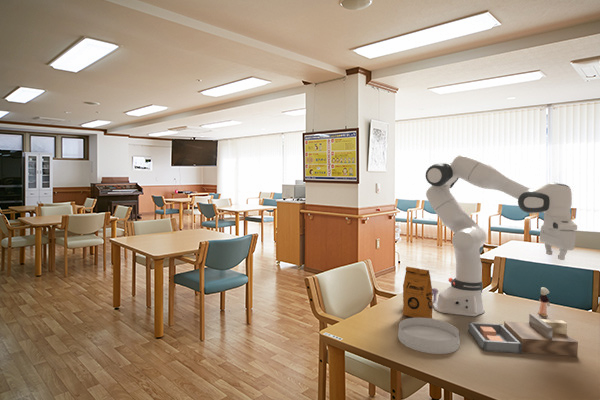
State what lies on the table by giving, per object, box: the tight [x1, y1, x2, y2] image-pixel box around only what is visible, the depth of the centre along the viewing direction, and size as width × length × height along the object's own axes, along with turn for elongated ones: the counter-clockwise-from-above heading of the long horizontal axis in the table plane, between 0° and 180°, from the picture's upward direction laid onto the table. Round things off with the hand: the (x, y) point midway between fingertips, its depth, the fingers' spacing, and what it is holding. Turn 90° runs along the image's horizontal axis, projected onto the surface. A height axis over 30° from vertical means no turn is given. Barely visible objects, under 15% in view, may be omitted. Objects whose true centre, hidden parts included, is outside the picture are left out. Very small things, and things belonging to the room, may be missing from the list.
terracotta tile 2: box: [480, 326, 496, 338], centre depth 144 cm, size 4×4×2 cm
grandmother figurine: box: [537, 286, 551, 317], centre depth 167 cm, size 8×4×13 cm, turn 5°
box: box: [468, 321, 522, 354], centre depth 140 cm, size 12×18×4 cm
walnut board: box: [503, 321, 579, 357], centre depth 138 cm, size 18×16×5 cm
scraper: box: [528, 313, 568, 339], centre depth 137 cm, size 9×14×4 cm, turn 171°
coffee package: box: [402, 266, 434, 319], centre depth 164 cm, size 10×12×22 cm
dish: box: [397, 317, 461, 355], centre depth 141 cm, size 22×22×5 cm
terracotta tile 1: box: [486, 335, 503, 341], centre depth 136 cm, size 4×4×2 cm
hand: (554, 257), depth 149 cm, fingers open, 8 cm apart
